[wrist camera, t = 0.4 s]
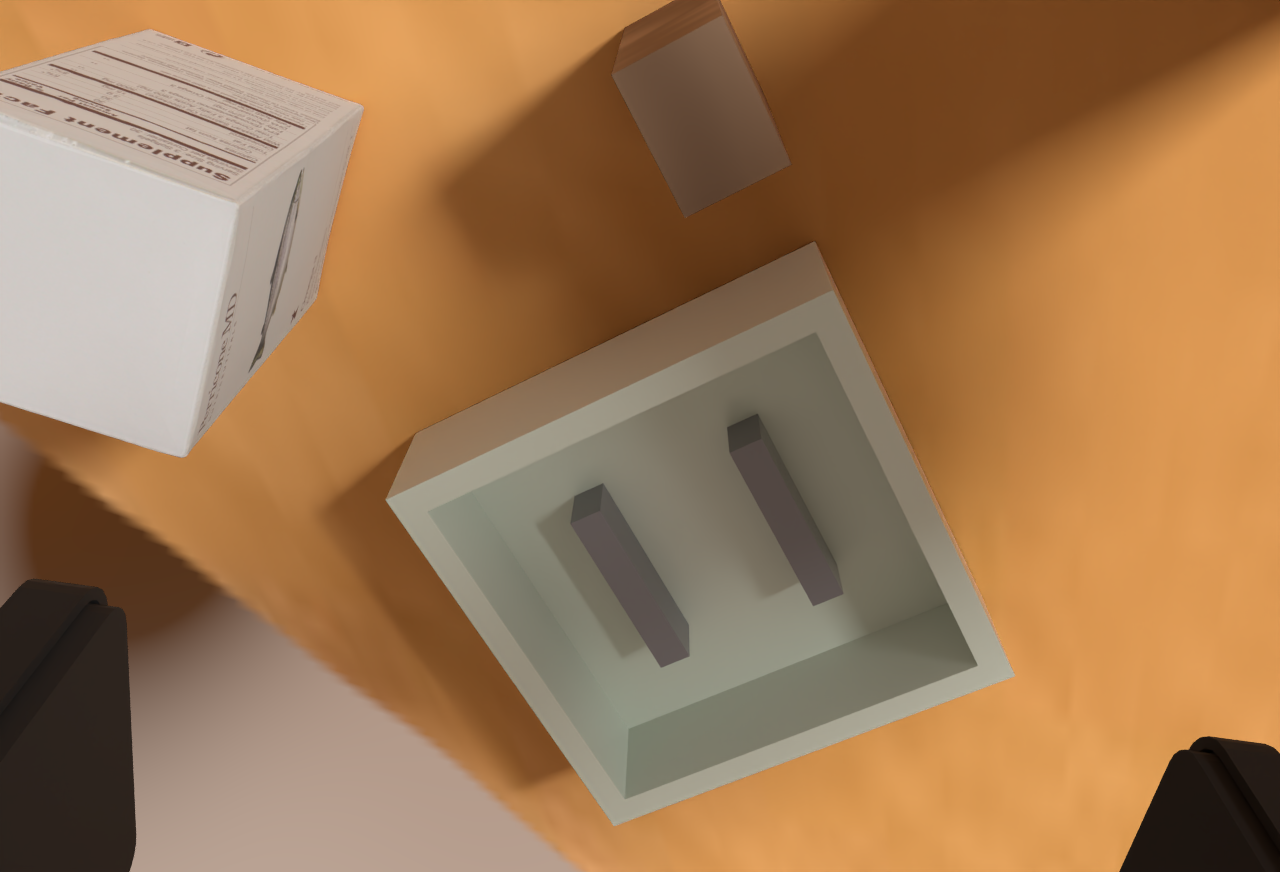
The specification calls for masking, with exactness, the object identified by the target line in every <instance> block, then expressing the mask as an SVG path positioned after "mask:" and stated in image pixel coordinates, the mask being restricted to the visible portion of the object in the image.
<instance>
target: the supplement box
mask: <svg viewBox="0 0 1280 872" xmlns="http://www.w3.org/2000/svg"><path fill="white" fill-rule="evenodd" d="M363 111H364V108H363V106H362V105H360V104H358V103H355V102H352V101H349V100H346V99H343V98H340V97H337V96H334V95H332V94H329V93H326V92H323V91H320V90H318V89H315V88H312V87H309V86H307V85H304V84H301V83H298V82H295V81H292V80H290V79H287V78H284V77H282V76H279V75H276V74H273V73H271V72H268V71H265V70H263V69H260V68H257V67H254V66H252V65H249V64H246V63H243V62H241V61H238V60H235V59H232V58H230V57H227V56H224V55H222V54H218V53H216V52H213V51H210V50H208V49H205V48H202V47H199V46H197V45H194V44H191V43H187V42H185V41H182V40H179V39H177V38H174V37H172V36H169V35H166V34H163V33H160V32H157V31H154V30H151V29H147V30H144V31H140V32H137V33H134V34H130V35H126V36H122V37H119V38H114V39H110V40H107V41H103V42H99V43H97V44H93V45H90V46H86V47H83V48H79V49H76V50H72V51H69V52H65V53H62V54H59V55H55V56H52V57H48V58H45V59H42V60H38V61H34V62H32V63H29V64H25V65H22V66H18V67H15V68H12V69H8V70H5V71H1V72H0V402H1V403H5V404H8V405H11V406H14V407H17V408H20V409H23V410H26V411H30V412H33V413H36V414H40V415H43V416H46V417H49V418H52V419H56V420H59V421H62V422H65V423H68V424H71V425H74V426H78V427H81V428H84V429H87V430H91V431H94V432H97V433H100V434H103V435H107V436H110V437H113V438H116V439H120V440H123V441H125V442H129V443H132V444H135V445H138V446H141V447H144V448H148V449H151V450H154V451H158V452H161V453H165V454H169V455H173V456H177V457H182V458H183V457H186V456H187V455H188V454H189V452H190V451H191V449H192V448H193V447H194V446H195V444H196V443H197V442H198V441H199V440H200V439H201V437H202V436H203V435H204V434H205V432H206V431H207V430H208V429H209V428H210V426H211V425H212V424H213V423H214V422H215V420H216V419H217V418H218V417H219V415H220V414H221V413H222V412H223V410H224V409H225V408H226V407H227V406H228V405H229V403H230V402H231V401H232V400H233V398H234V397H235V396H236V395H237V394H238V393H239V391H240V390H241V389H242V388H243V387H244V386H245V384H246V383H247V382H248V381H249V379H250V378H251V377H252V376H253V375H254V373H255V372H256V371H257V370H258V369H259V368H260V367H261V365H262V364H263V363H264V362H265V361H266V359H267V358H268V357H269V356H270V355H271V353H272V352H273V351H274V350H275V349H276V347H277V346H278V345H279V344H280V342H281V341H282V340H283V339H284V338H285V336H286V335H287V334H288V333H289V332H290V331H291V329H292V328H293V327H294V326H295V325H296V324H297V322H298V321H299V320H300V319H301V318H302V316H303V315H304V314H305V313H306V311H307V310H308V309H309V308H310V306H311V305H312V304H313V303H314V301H315V300H316V298H317V294H318V289H319V284H320V279H321V273H322V268H323V264H324V259H325V254H326V249H327V245H328V240H329V236H330V232H331V227H332V224H333V220H334V216H335V212H336V208H337V204H338V200H339V196H340V192H341V189H342V185H343V181H344V177H345V174H346V170H347V166H348V162H349V159H350V155H351V151H352V148H353V144H354V141H355V137H356V134H357V131H358V127H359V124H360V121H361V117H362V114H363Z"/></svg>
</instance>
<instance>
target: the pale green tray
mask: <svg viewBox="0 0 1280 872" xmlns="http://www.w3.org/2000/svg"><path fill="white" fill-rule="evenodd" d="M386 502H387V503H388V504H389V506H390V507H391V509H392V510H393V512H394V513H395V514H396V516H397V517H398V519H399V520H400V522H401V523H402V524H403V526H404V527H405V529H406V530H407V532H408V533H409V534H410V536H411V537H412V539H413V540H414V542H415V543H416V544H417V546H418V547H419V549H420V550H421V552H422V553H423V554H424V556H425V557H426V559H427V560H428V561H429V563H430V564H431V566H432V567H433V569H434V570H435V571H436V573H437V574H438V576H439V577H440V579H441V580H442V581H443V583H444V584H445V586H446V587H447V589H448V590H449V591H450V593H451V594H452V596H453V597H454V599H455V600H456V601H457V603H458V604H459V606H460V607H461V609H462V610H463V611H464V613H465V614H466V616H467V617H468V619H469V620H470V621H471V623H472V624H473V626H474V627H475V629H476V630H477V631H478V633H479V634H480V636H481V637H482V639H483V640H484V641H485V643H486V644H487V646H488V647H489V649H490V650H491V651H492V653H493V654H494V656H495V657H496V659H497V660H498V661H499V663H500V664H501V666H502V667H503V669H504V670H505V671H506V673H507V674H508V676H509V677H510V678H511V680H512V681H513V683H514V684H515V686H516V687H517V688H518V690H519V691H520V693H521V694H522V696H523V697H524V698H525V700H526V701H527V703H528V704H529V706H530V707H531V708H532V710H533V711H534V713H535V714H536V716H537V717H538V718H539V720H540V721H541V723H542V724H543V726H544V727H545V728H546V730H547V731H548V733H549V734H550V736H551V737H552V738H553V740H554V741H555V743H556V744H557V746H558V747H559V748H560V750H561V751H562V753H563V754H564V756H565V757H566V758H567V760H568V761H569V763H570V764H571V766H572V767H573V768H574V770H575V771H576V773H577V774H578V776H579V777H580V778H581V780H582V781H583V783H584V784H585V785H586V787H587V788H588V790H589V791H590V793H591V794H592V795H593V797H594V798H595V800H596V801H597V803H598V804H599V805H600V807H601V808H602V810H603V811H604V813H605V814H606V815H607V817H608V818H609V820H610V821H611V823H612V824H613V825H614V826H616V825H619V824H621V823H624V822H627V821H629V820H632V819H635V818H637V817H640V816H643V815H645V814H648V813H651V812H653V811H656V810H659V809H661V808H664V807H667V806H669V805H672V804H675V803H677V802H680V801H683V800H685V799H688V798H691V797H694V796H696V795H699V794H702V793H704V792H707V791H710V790H712V789H715V788H718V787H720V786H723V785H726V784H728V783H731V782H734V781H736V780H739V779H742V778H744V777H747V776H750V775H752V774H755V773H758V772H760V771H763V770H766V769H768V768H771V767H774V766H776V765H779V764H782V763H784V762H787V761H790V760H792V759H795V758H798V757H800V756H803V755H806V754H808V753H811V752H814V751H816V750H819V749H822V748H825V747H827V746H830V745H833V744H835V743H838V742H841V741H843V740H846V739H849V738H851V737H854V736H857V735H859V734H862V733H865V732H867V731H870V730H873V729H875V728H878V727H881V726H883V725H886V724H889V723H891V722H894V721H897V720H899V719H902V718H905V717H907V716H910V715H913V714H915V713H918V712H921V711H923V710H926V709H929V708H931V707H934V706H937V705H939V704H942V703H945V702H947V701H950V700H953V699H956V698H958V697H961V696H964V695H966V694H969V693H972V692H974V691H977V690H980V689H982V688H985V687H988V686H990V685H993V684H996V683H998V682H1001V681H1004V680H1006V679H1009V678H1012V677H1014V676H1015V674H1014V672H1013V669H1012V667H1011V665H1010V662H1009V660H1008V658H1007V655H1006V653H1005V650H1004V648H1003V646H1002V643H1001V641H1000V638H999V636H998V634H997V631H996V629H995V627H994V624H993V622H992V619H991V617H990V615H989V612H988V610H987V607H986V605H985V603H984V600H983V598H982V596H981V593H980V591H979V589H978V587H977V585H976V583H975V581H974V578H973V576H972V574H971V572H970V570H969V568H968V566H967V564H966V561H965V559H964V557H963V555H962V553H961V551H960V549H959V547H958V544H957V542H956V540H955V538H954V536H953V534H952V532H951V529H950V527H949V525H948V523H947V521H946V519H945V517H944V515H943V512H942V510H941V508H940V506H939V504H938V502H937V500H936V498H935V495H934V493H933V491H932V489H931V487H930V485H929V483H928V481H927V478H926V476H925V474H924V472H923V470H922V468H921V466H920V463H919V461H918V459H917V457H916V455H915V453H914V451H913V449H912V446H911V444H910V442H909V440H908V438H907V436H906V434H905V432H904V429H903V427H902V425H901V423H900V421H899V419H898V417H897V415H896V412H895V410H894V408H893V406H892V404H891V402H890V400H889V397H888V395H887V393H886V391H885V389H884V387H883V385H882V383H881V380H880V378H879V376H878V374H877V372H876V370H875V368H874V366H873V363H872V361H871V359H870V357H869V355H868V353H867V351H866V349H865V346H864V344H863V342H862V340H861V338H860V336H859V334H858V331H857V329H856V327H855V325H854V323H853V321H852V319H851V317H850V314H849V312H848V310H847V308H846V306H845V304H844V302H843V300H842V297H841V295H840V293H839V291H838V289H837V287H836V285H835V283H834V280H833V278H832V276H831V274H830V272H829V270H828V268H827V265H826V263H825V261H824V259H823V257H822V255H821V253H820V251H819V248H818V246H817V244H816V242H815V241H814V242H812V243H810V244H808V245H806V246H804V247H802V248H799V249H797V250H795V251H793V252H791V253H789V254H787V255H785V256H783V257H781V258H779V259H777V260H775V261H772V262H770V263H768V264H766V265H764V266H762V267H760V268H758V269H756V270H754V271H752V272H750V273H748V274H745V275H743V276H741V277H739V278H737V279H735V280H733V281H731V282H729V283H727V284H725V285H723V286H721V287H718V288H716V289H714V290H712V291H710V292H708V293H706V294H704V295H702V296H700V297H698V298H696V299H694V300H691V301H689V302H687V303H685V304H683V305H681V306H679V307H677V308H675V309H673V310H671V311H669V312H667V313H664V314H662V315H660V316H658V317H656V318H654V319H652V320H650V321H648V322H646V323H644V324H642V325H640V326H637V327H635V328H633V329H631V330H629V331H627V332H625V333H623V334H621V335H619V336H617V337H615V338H613V339H611V340H608V341H606V342H604V343H602V344H600V345H598V346H596V347H594V348H592V349H590V350H588V351H586V352H584V353H581V354H579V355H577V356H575V357H573V358H571V359H569V360H567V361H565V362H563V363H561V364H559V365H557V366H554V367H552V368H550V369H548V370H546V371H544V372H542V373H540V374H538V375H536V376H534V377H532V378H530V379H527V380H525V381H523V382H521V383H519V384H517V385H515V386H513V387H511V388H509V389H507V390H505V391H503V392H500V393H498V394H496V395H494V396H492V397H490V398H488V399H486V400H484V401H482V402H480V403H478V404H476V405H473V406H471V407H469V408H467V409H465V410H463V411H461V412H459V413H457V414H455V415H453V416H451V417H449V418H446V419H444V420H442V421H440V422H438V423H436V424H434V425H432V426H430V427H428V428H426V429H424V430H422V431H419V432H417V433H416V434H415V436H414V438H413V440H412V442H411V445H410V447H409V449H408V451H407V453H406V456H405V458H404V460H403V462H402V464H401V467H400V469H399V471H398V473H397V476H396V478H395V480H394V482H393V484H392V487H391V489H390V491H389V493H388V495H387V498H386Z"/></svg>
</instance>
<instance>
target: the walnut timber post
mask: <svg viewBox="0 0 1280 872" xmlns="http://www.w3.org/2000/svg"><path fill="white" fill-rule="evenodd" d="M611 76H612V77H613V79H614V81H615V83H616V85H617V87H618V89H619V91H620V93H621V95H622V97H623V99H624V101H625V103H626V105H627V107H628V109H629V111H630V112H631V114H632V116H633V118H634V120H635V122H636V124H637V126H638V128H639V130H640V132H641V134H642V136H643V138H644V140H645V142H646V144H647V146H648V147H649V149H650V151H651V153H652V155H653V157H654V159H655V161H656V163H657V165H658V167H659V169H660V171H661V173H662V175H663V177H664V179H665V180H666V182H667V184H668V186H669V188H670V190H671V192H672V194H673V196H674V198H675V200H676V202H677V204H678V206H679V208H680V210H681V212H682V214H683V215H684V217H685V218H686V217H688V216H690V215H692V214H694V213H696V212H698V211H700V210H702V209H704V208H706V207H708V206H710V205H712V204H714V203H716V202H718V201H720V200H722V199H724V198H726V197H728V196H730V195H732V194H734V193H736V192H738V191H740V190H742V189H744V188H746V187H748V186H750V185H752V184H754V183H756V182H758V181H760V180H762V179H764V178H766V177H768V176H770V175H772V174H774V173H776V172H778V171H780V170H782V169H784V168H786V167H788V166H790V165H792V164H791V162H790V159H789V156H788V154H787V151H786V149H785V146H784V144H783V141H782V139H781V136H780V134H779V131H778V128H777V126H776V123H775V121H774V118H773V116H772V113H771V111H770V108H769V106H768V103H767V100H766V98H765V96H764V94H763V92H762V89H761V87H760V85H759V83H758V81H757V79H756V76H755V74H754V72H753V70H752V68H751V66H750V64H749V61H748V59H747V57H746V55H745V53H744V51H743V48H742V46H741V44H740V42H739V40H738V38H737V35H736V33H735V31H734V29H733V27H732V25H731V23H730V20H729V18H728V16H727V14H726V12H725V10H724V7H723V5H722V3H721V1H720V0H674V1H673V2H671V3H669V4H667V5H665V6H664V7H662V8H660V9H658V10H656V11H654V12H653V13H651V14H649V15H647V16H645V17H643V18H642V19H640V20H638V21H636V22H634V23H633V24H631V25H629V26H627V27H625V29H624V32H623V36H622V39H621V43H620V46H619V50H618V53H617V57H616V60H615V64H614V67H613V71H612V74H611Z"/></svg>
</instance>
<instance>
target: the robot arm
mask: <svg viewBox="0 0 1280 872" xmlns="http://www.w3.org/2000/svg"><path fill="white" fill-rule="evenodd" d="M135 846H136V821H135V799H134V779H133V756H132V735H131V711H130V690H129V667H128V646H127V623H126V616H125V613H124V611H123V609H121V608H119V607H113V606H108V604H107V599H106V596H105V594H104V591H103V590H102V589H100V588H98V587H92V586H85V585H78V584H71V583H63V582H56V581H48V580H41V579H31V580H27V581H26V582H25V583H23V584H22V585H21V586H20V587H19V588H18V589H17V590H16V591H15V592H14V593H13V594H12V596H11V597H10V598H9V599H8V600H7V601H6V602H5V604H4V605H3V606H2V607H1V608H0V872H129V871H130V868H131V865H132V861H133V857H134V852H135ZM1119 872H1280V753H1279V752H1278V751H1277V750H1276V749H1275V748H1273V747H1271V746H1269V745H1266V744H1262V743H1254V742H1247V741H1239V740H1232V739H1224V738H1217V737H1210V736H1208V737H1200V738H1199V739H1198V740H1196V741H1195V742H1194V743H1193V744H1192V745H1191V747H1190V749H1189V750H1179V751H1178V752H1177V753H1175V754H1174V755H1173V757H1172V759H1171V760H1170V762H1169V764H1168V766H1167V768H1166V771H1165V773H1164V775H1163V777H1162V779H1161V782H1160V784H1159V786H1158V788H1157V790H1156V793H1155V795H1154V797H1153V799H1152V801H1151V804H1150V806H1149V808H1148V810H1147V812H1146V814H1145V817H1144V819H1143V821H1142V823H1141V825H1140V828H1139V830H1138V832H1137V834H1136V836H1135V839H1134V841H1133V843H1132V845H1131V847H1130V850H1129V852H1128V854H1127V856H1126V858H1125V860H1124V863H1123V865H1122V867H1121V869H1120V871H1119Z"/></svg>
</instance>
